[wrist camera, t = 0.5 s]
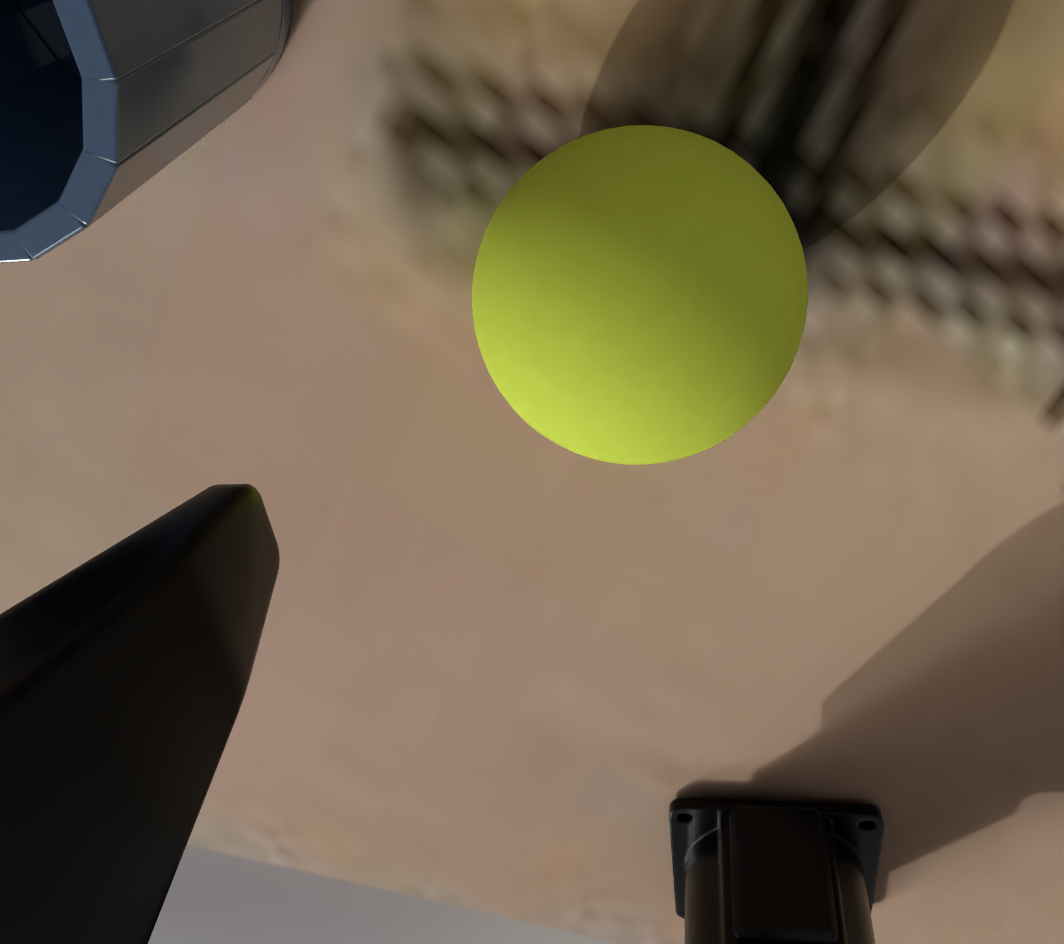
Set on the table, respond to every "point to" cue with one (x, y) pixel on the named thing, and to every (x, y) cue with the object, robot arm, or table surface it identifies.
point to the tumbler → (114, 100)
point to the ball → (639, 294)
